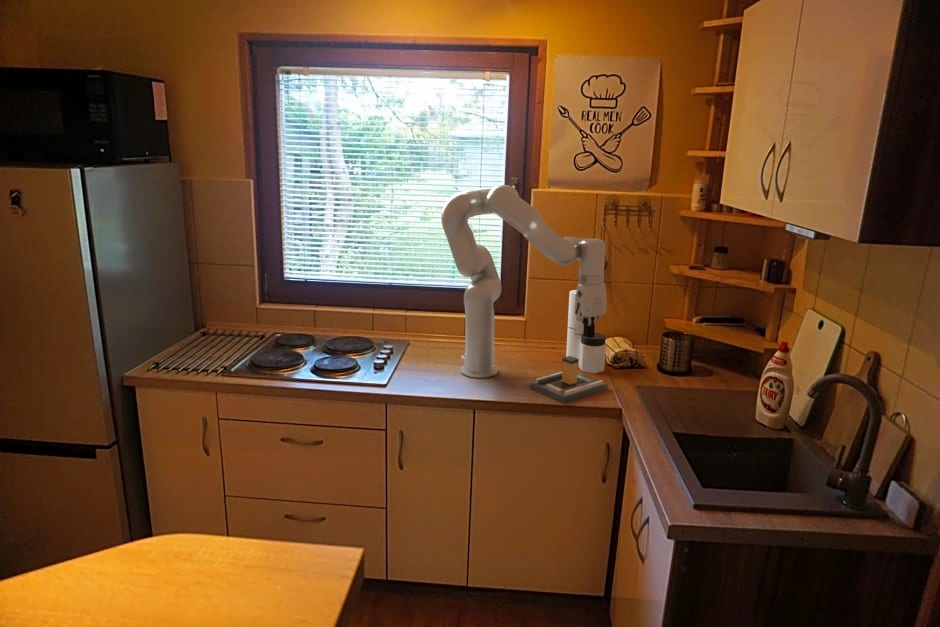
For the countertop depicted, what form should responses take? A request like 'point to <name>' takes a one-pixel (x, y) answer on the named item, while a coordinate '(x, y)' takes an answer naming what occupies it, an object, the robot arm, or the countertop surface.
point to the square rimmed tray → (571, 391)
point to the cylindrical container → (573, 329)
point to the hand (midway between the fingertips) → (588, 336)
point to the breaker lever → (569, 370)
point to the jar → (592, 353)
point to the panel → (568, 388)
